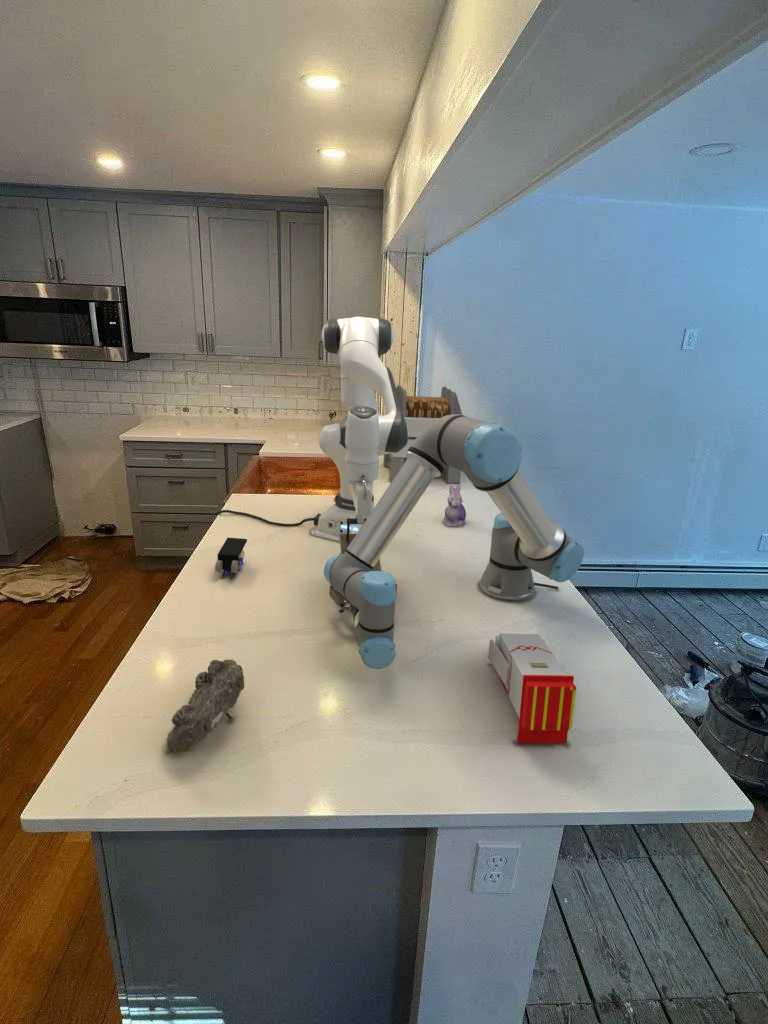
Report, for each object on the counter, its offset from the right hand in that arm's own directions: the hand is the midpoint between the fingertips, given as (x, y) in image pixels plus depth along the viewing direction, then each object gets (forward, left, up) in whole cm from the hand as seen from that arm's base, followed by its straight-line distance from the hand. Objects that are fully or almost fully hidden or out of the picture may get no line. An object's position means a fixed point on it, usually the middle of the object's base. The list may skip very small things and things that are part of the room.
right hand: (360, 576), depth 152 cm
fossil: (+33, +45, -7) cm, 56 cm away
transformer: (-42, -123, -7) cm, 130 cm away
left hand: (0, -5, +14) cm, 15 cm away
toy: (-30, +44, -7) cm, 53 cm away
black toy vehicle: (+36, -20, -7) cm, 41 cm away
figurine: (-41, -56, -7) cm, 70 cm away
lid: (0, -3, +5) cm, 6 cm away
